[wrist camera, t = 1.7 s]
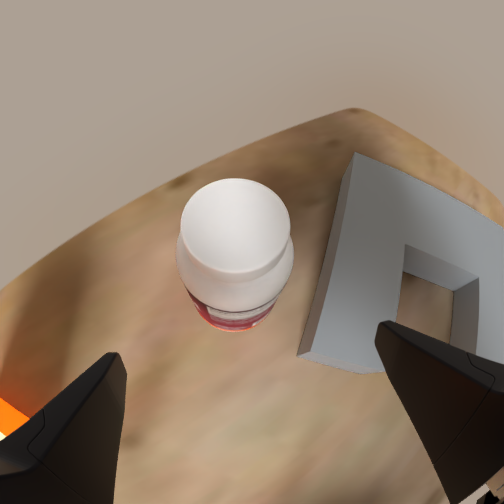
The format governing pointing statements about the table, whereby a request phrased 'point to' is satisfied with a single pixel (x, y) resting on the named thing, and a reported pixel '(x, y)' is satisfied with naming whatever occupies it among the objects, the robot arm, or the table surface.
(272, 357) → the table surface
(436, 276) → the notched board
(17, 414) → the orange juice
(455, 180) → the table surface
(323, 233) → the table surface
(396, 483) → the table surface
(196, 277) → the pill bottle
